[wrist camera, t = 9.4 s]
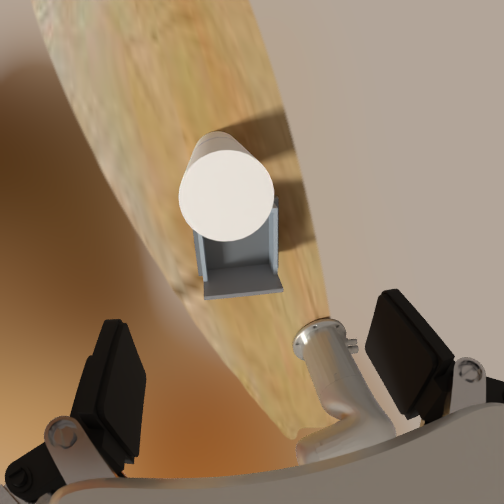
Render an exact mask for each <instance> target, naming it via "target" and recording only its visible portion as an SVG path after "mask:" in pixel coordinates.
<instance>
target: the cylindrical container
mask: <svg viewBox="0 0 504 504" xmlns="http://www.w3.org/2000/svg"><path fill="white" fill-rule="evenodd" d="M273 202H274V188H273V183H272V180H271V178H270V175H269V173H268V172H267V170H266V169H265V167H264V166H263V165H262V164H261V163H260V162H259V161H258V160H257V159H256V158H255V157H254V156H253V155H252V154H251V153H250V152H249V151H248V150H246V149H245V148H244V147H243V146H242V145H241V144H240V143H239V142H238V141H237V140H236V139H235V138H233V137H232V136H231V135H229V134H228V133H225V132H221V131H214V132H210V133H208V134H206V135H204V136H203V137H201V138H200V140H199V141H198V142H197V144H196V146H195V148H194V151H193V153H192V156H191V158H190V161H189V163H188V166H187V168H186V171H185V173H184V176H183V179H182V182H181V185H180V189H179V206H180V209H181V212H182V215H183V217H184V218H185V220H186V222H187V223H188V224H189V225H190V227H191V228H192V229H193V230H195V231H196V232H197V233H199V234H200V235H202V236H204V237H206V238H208V239H212V240H215V241H235V240H239V239H242V238H245V237H247V236H249V235H251V234H252V233H254V232H255V231H256V230H258V229H259V228H260V227H261V226H262V225H263V224H264V222H265V221H266V219H267V218H268V216H269V214H270V212H271V210H272V206H273Z"/></svg>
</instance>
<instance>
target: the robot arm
mask: <svg viewBox="0 0 504 504" xmlns="http://www.w3.org/2000/svg"><path fill="white" fill-rule="evenodd" d="M355 344H357V339H351V340H348V339H347V338H346V330H345V328H344V326H343V325H342V324H341V323H340V322H339V321H337V320H334V319H320V320H317V321H314V322H312V323H310V324H308V325H306V326H305V327H303V328H302V329H301V330H300V331H299V332H298V333H297V335H296V336H295V338H294V341H293V350H294V353H295V355H296V356H297V357H298V358H299V359H301V360H304V361H305V363H306V365H307V368H308V371H309V373H310V376H311V379H312V381H313V384H314V387H315V389H316V392H317V395H318V397H319V400H320V403H321V405H322V407H323V409H324V410H325V411H326V412H327V413H328V414H329V415H331V416H333V417H335V418H337V419H339V420H340V421H338V422H336V423H335V424H333V425H331V426H328V427H326V428H324V429H322V430H319V431H317V432H314V433H312V434H310V435H308V436H306V437H304V438H302V439H301V440H300V441H299V442H298V443H297V446H296V456H297V460H298V463H299V466H295V467H290V468H284V469H279V470H273V471H267V472H260V473H252V474H244V475H236V476H224V477H209V478H181V479H156V478H128V477H127V476H126V475H125V474H124V472H123V470H124V463H127V464H134V457H138V455H139V447H140V434H141V423H142V413H143V404H144V395H145V387H146V373H145V370H144V368H143V365H142V363H141V360H140V358H139V355H138V353H137V350H136V347H135V345H134V342H133V339H132V336H131V334H130V331H129V328H128V325H127V324H126V323H123V322H122V321H121V320H120V319H112V320H105V321H104V323H103V326H102V329H101V332H100V334H99V337H98V340H97V343H96V346H95V349H94V352H93V355H91V356H89V357H88V358H87V361H86V363H85V367H84V370H83V373H82V376H81V379H80V382H79V386H78V389H77V392H76V396H75V399H74V403H73V407H72V410H71V414H70V417H69V416H59V417H57V418H55V419H53V420H52V421H50V422H49V424H48V425H47V427H46V429H45V432H44V439H45V442H44V443H42V444H41V445H39V446H37V447H36V448H34V449H33V450H31V451H30V452H28V453H27V454H25V455H24V456H22V457H20V458H19V459H17V460H16V461H14V462H12V463H11V464H10V465H9V466H8V468H7V470H6V473H5V482H6V484H5V485H4V486H3V485H0V504H504V382H503V381H499V380H496V379H492V378H489V377H486V373H485V370H484V368H483V366H482V365H481V364H480V363H479V362H478V361H476V360H475V359H472V358H468V357H464V358H460V359H459V360H457V361H456V362H455V361H454V360H453V359H454V357H455V356H454V354H452V352H451V351H450V349H449V348H448V347H447V346H446V345H445V343H444V342H443V341H442V340H441V338H440V337H439V336H438V335H437V333H436V332H435V331H434V330H433V329H432V328H431V326H430V325H429V324H428V323H427V322H426V320H425V319H424V318H423V317H422V316H421V315H420V313H419V312H418V311H417V310H416V309H415V308H414V307H413V305H412V304H411V303H410V302H409V301H408V300H407V299H406V298H405V297H404V295H403V294H402V293H401V292H400V291H399V290H398V289H391V290H385V291H383V292H382V294H381V295H380V296H379V297H378V300H377V304H376V308H375V312H374V316H373V319H372V323H371V327H370V330H369V334H368V337H367V341H366V344H365V350H366V353H367V355H368V357H369V359H370V360H371V362H372V364H373V365H374V367H375V369H376V371H377V372H378V374H379V376H380V378H381V379H382V381H383V382H384V385H385V386H386V388H387V390H388V392H389V394H390V395H391V397H392V399H393V401H394V402H395V404H396V406H397V408H398V410H399V411H400V413H401V414H404V415H405V417H406V418H407V420H409V419H412V418H414V417H416V416H418V415H420V417H421V423H420V427H419V428H417V429H415V430H413V431H410V432H407V433H405V434H403V435H400V436H397V437H396V430H395V427H394V425H393V423H392V421H391V420H390V418H389V417H388V416H387V414H385V412H384V411H383V409H382V408H381V407H380V405H379V404H378V402H377V401H376V399H375V398H374V396H373V394H372V393H371V391H370V389H369V387H368V385H367V384H366V382H365V380H364V378H363V376H362V374H361V372H360V370H359V369H358V366H357V365H356V363H355V361H354V359H353V357H352V355H351V354H353V353H357V352H358V346H357V345H355ZM348 345H354V346H348Z"/></svg>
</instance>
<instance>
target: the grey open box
mask: <svg viewBox="0 0 504 504" xmlns="http://www.w3.org/2000/svg"><path fill="white" fill-rule="evenodd" d="M193 235H194V243H195V251H196V258H197V266H198V273H199V276H203V280H204V300H211V299H222V298H232V297H242V296H251V295H260V294H269V293H278V292H283V287H282V284H281V282H280V279H279V277H278V275H277V270H278V197H277V196H274V202H273V206H272V210H271V212H270V214H269V216H268V218H267V219H266V221H265V222H264V224H263V225H262V226H261V227H260V228H259V229H258V230H256V231H255V232H254V233H252V234H251V235H249V236H247V237H245V238H242V239H239V240H235V241H215V240H212V239H208V238H206V237H204V236H202V235H200V234H199V233H197V232H196V231H195V230H193Z"/></svg>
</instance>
